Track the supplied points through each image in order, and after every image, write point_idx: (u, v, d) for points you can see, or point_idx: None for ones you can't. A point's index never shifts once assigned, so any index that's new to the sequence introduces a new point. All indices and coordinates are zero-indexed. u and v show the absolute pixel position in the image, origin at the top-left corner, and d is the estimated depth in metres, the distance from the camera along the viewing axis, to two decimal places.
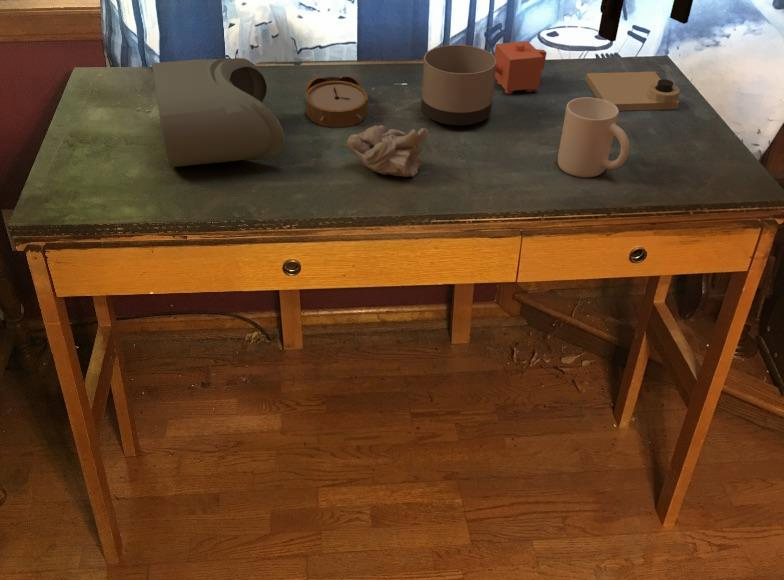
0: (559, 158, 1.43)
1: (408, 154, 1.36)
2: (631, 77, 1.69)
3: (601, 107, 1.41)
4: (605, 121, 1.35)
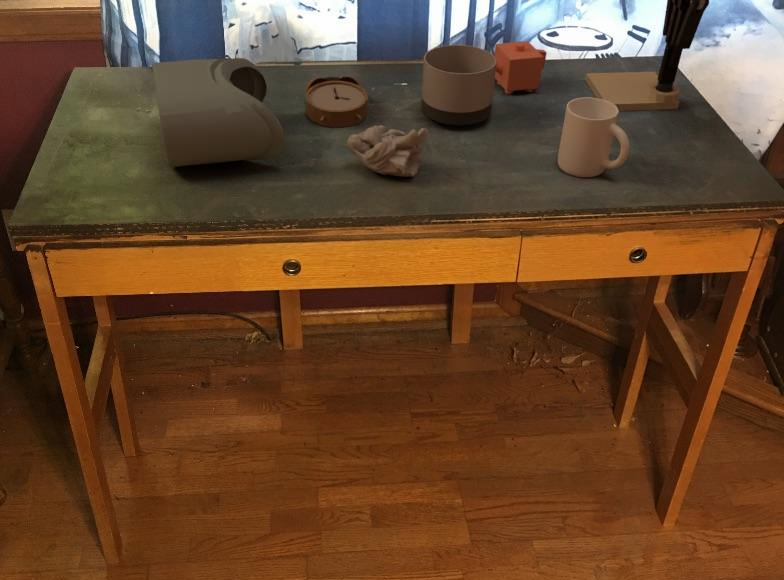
0: (559, 158, 1.43)
1: (408, 154, 1.36)
2: (631, 77, 1.69)
3: (601, 107, 1.41)
4: (605, 121, 1.35)
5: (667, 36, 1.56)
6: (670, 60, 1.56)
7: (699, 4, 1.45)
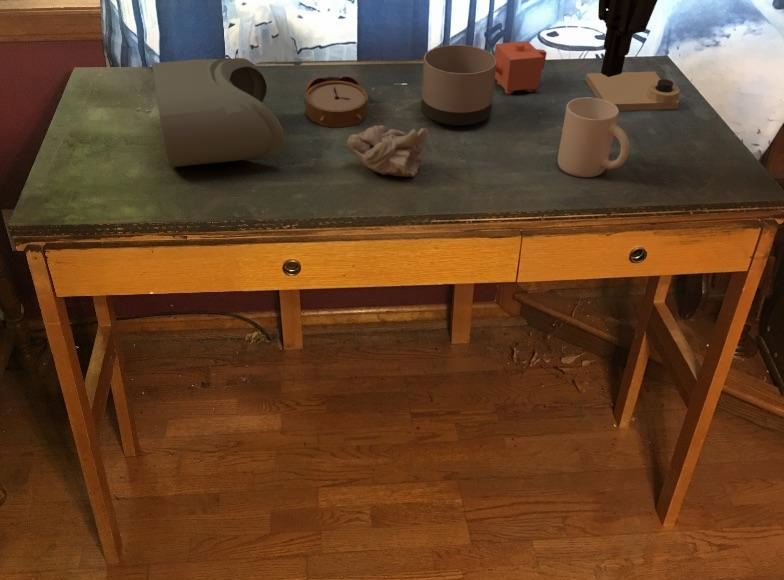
0: (559, 158, 1.43)
1: (408, 154, 1.36)
2: (631, 77, 1.69)
3: (601, 107, 1.41)
4: (605, 121, 1.35)
5: (609, 20, 1.28)
6: (620, 48, 1.29)
7: None
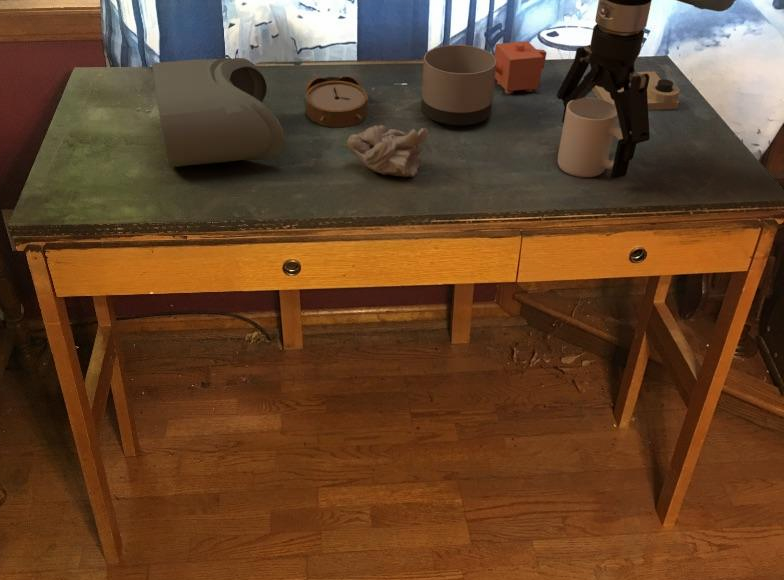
0: (559, 158, 1.43)
1: (408, 154, 1.36)
2: None
3: (601, 107, 1.41)
4: (605, 121, 1.35)
5: (567, 101, 1.41)
6: (624, 154, 1.35)
7: (641, 80, 1.27)
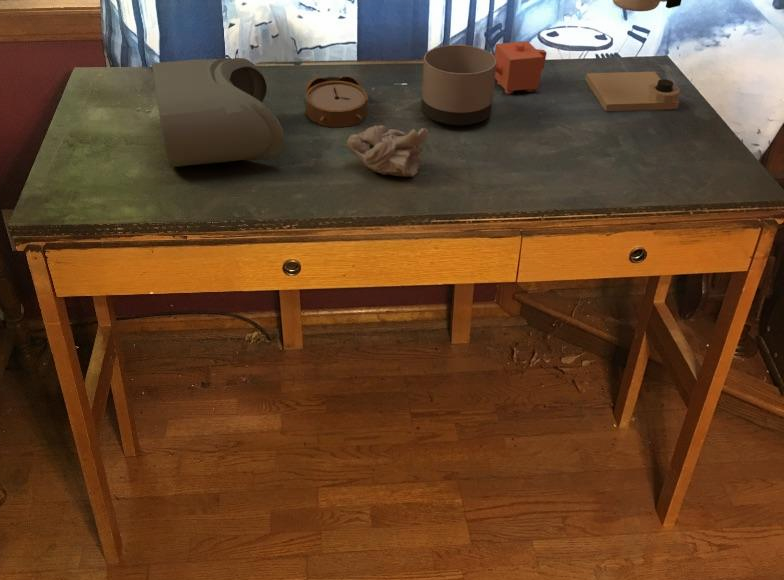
0: None
1: (408, 154, 1.36)
2: (631, 77, 1.69)
3: None
4: None
5: None
6: None
7: None
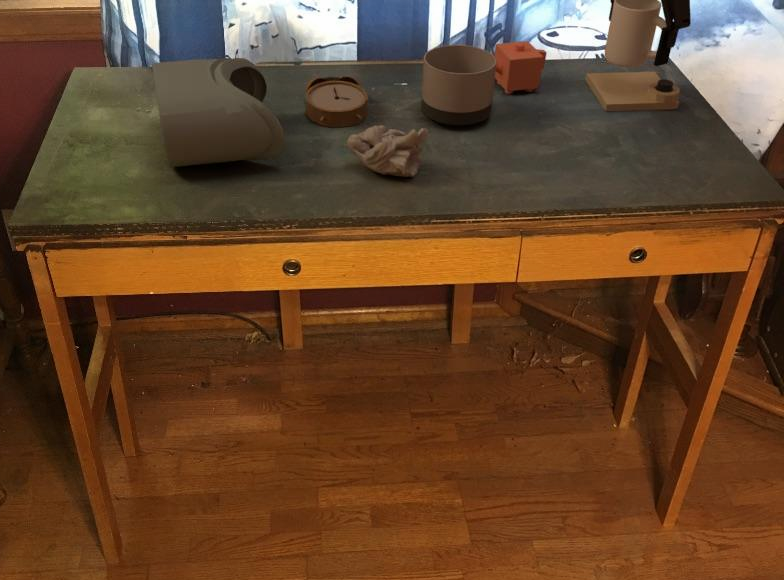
0: (606, 51, 1.59)
1: (408, 154, 1.36)
2: (631, 77, 1.69)
3: (645, 3, 1.57)
4: (650, 12, 1.51)
5: None
6: (667, 41, 1.51)
7: None
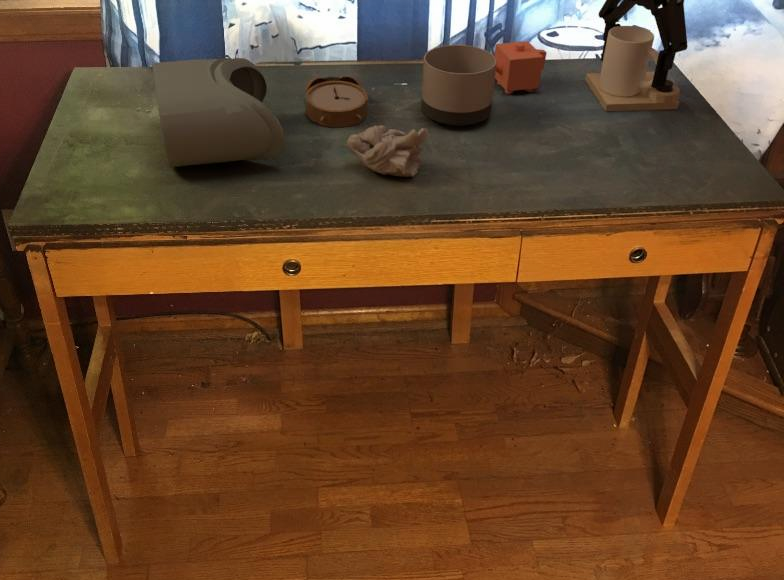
0: (601, 80, 1.63)
1: (408, 154, 1.36)
2: None
3: (638, 34, 1.61)
4: (643, 44, 1.55)
5: (608, 19, 1.60)
6: (664, 64, 1.53)
7: None
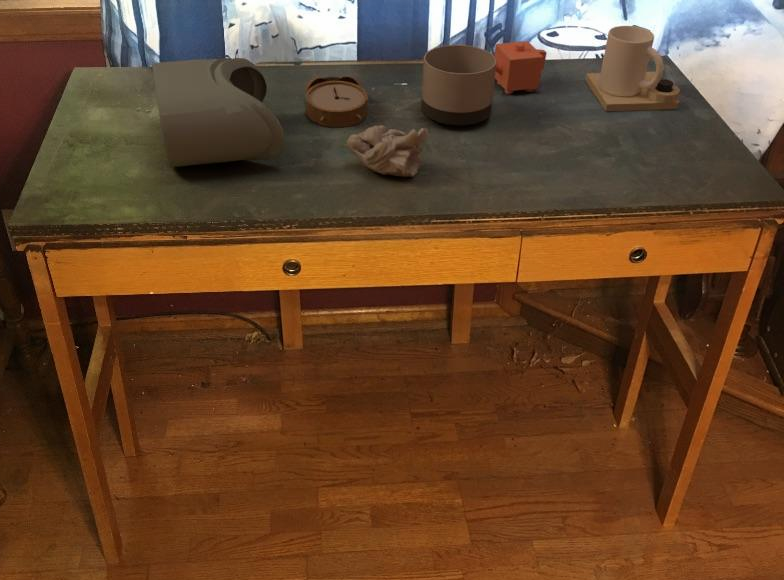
0: (601, 80, 1.63)
1: (408, 154, 1.36)
2: None
3: (638, 34, 1.61)
4: (643, 44, 1.55)
5: None
6: None
7: None
